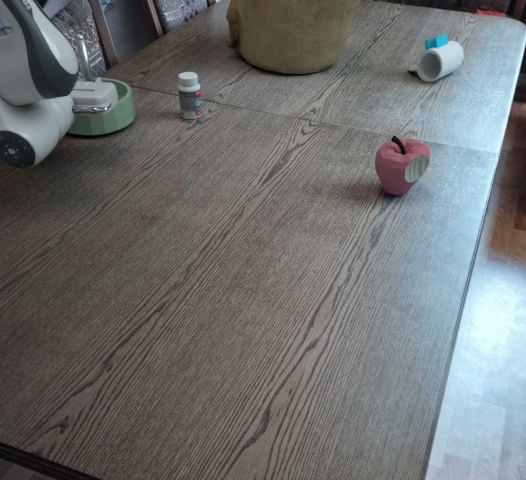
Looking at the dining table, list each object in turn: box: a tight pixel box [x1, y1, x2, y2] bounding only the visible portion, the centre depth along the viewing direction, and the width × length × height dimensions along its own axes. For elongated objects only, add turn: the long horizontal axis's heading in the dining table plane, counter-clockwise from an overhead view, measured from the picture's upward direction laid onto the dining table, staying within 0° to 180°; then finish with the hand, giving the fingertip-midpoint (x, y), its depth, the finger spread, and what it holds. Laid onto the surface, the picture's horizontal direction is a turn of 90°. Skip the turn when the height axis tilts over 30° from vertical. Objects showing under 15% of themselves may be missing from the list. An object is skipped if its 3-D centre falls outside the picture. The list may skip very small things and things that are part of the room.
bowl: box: [66, 77, 136, 136], centre depth 117 cm, size 17×17×6 cm
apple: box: [374, 135, 431, 197], centre depth 96 cm, size 10×9×10 cm
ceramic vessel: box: [225, 0, 363, 75], centre depth 139 cm, size 29×42×25 cm
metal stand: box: [74, 33, 94, 82], centre depth 113 cm, size 6×6×16 cm
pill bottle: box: [177, 71, 203, 120], centre depth 118 cm, size 5×5×8 cm
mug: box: [408, 33, 465, 83], centre depth 137 cm, size 12×9×12 cm
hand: (74, 80), depth 107 cm, fingers open, 8 cm apart
